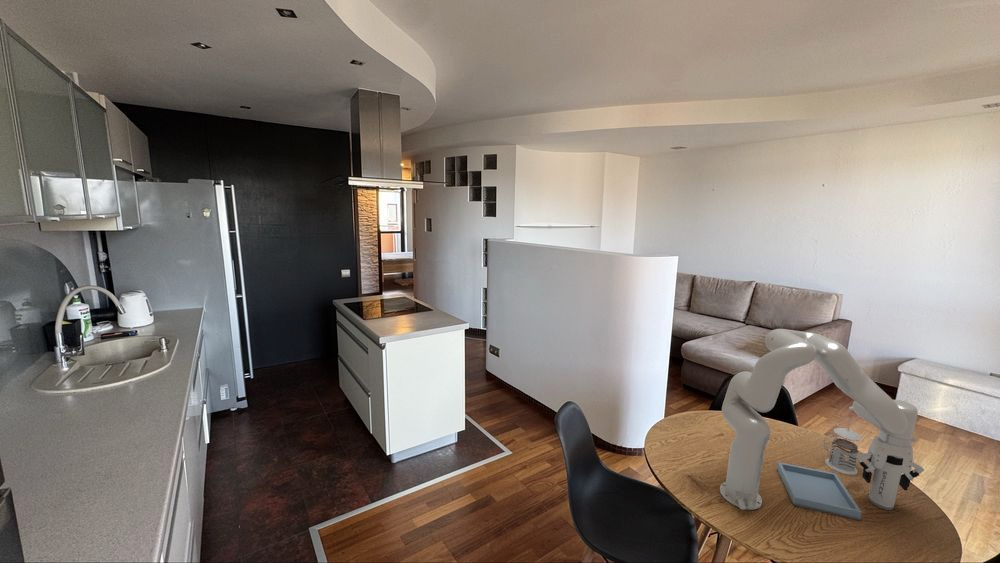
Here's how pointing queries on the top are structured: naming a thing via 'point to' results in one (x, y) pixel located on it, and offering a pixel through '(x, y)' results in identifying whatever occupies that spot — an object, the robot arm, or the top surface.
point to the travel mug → (886, 483)
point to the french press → (835, 459)
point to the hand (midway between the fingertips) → (884, 484)
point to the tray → (818, 490)
